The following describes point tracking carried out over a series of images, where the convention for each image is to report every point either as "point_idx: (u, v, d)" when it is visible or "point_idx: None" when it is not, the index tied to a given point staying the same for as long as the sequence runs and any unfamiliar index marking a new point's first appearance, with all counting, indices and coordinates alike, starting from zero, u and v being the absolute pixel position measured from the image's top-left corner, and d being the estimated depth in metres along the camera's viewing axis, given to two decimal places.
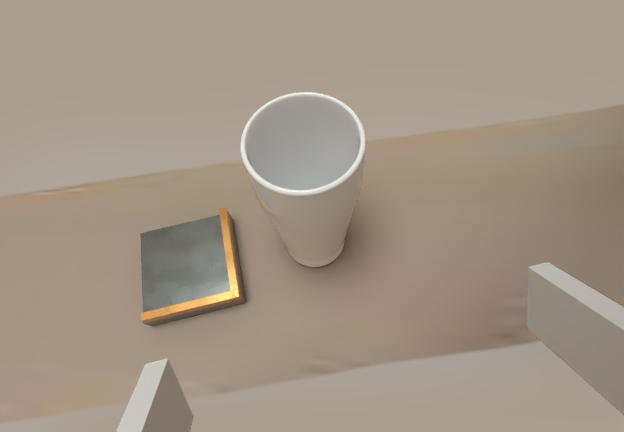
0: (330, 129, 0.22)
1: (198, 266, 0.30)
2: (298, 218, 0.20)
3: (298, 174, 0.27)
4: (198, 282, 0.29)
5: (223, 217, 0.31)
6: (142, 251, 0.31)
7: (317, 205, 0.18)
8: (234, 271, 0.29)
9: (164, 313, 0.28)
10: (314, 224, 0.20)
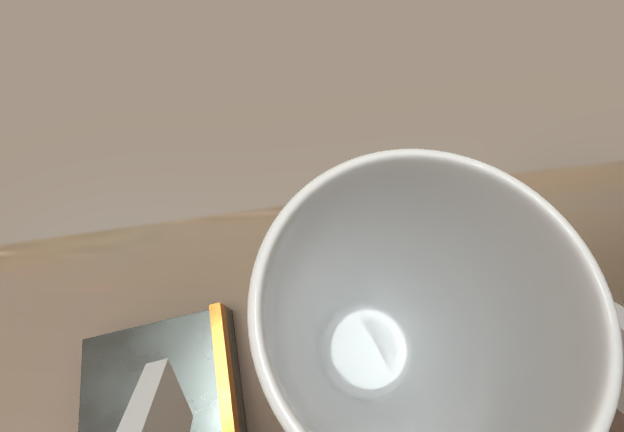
0: (446, 220, 0.10)
1: None
2: None
3: (350, 272, 0.15)
4: None
5: (216, 319, 0.19)
6: (83, 373, 0.19)
7: None
8: (232, 426, 0.17)
9: None
10: None
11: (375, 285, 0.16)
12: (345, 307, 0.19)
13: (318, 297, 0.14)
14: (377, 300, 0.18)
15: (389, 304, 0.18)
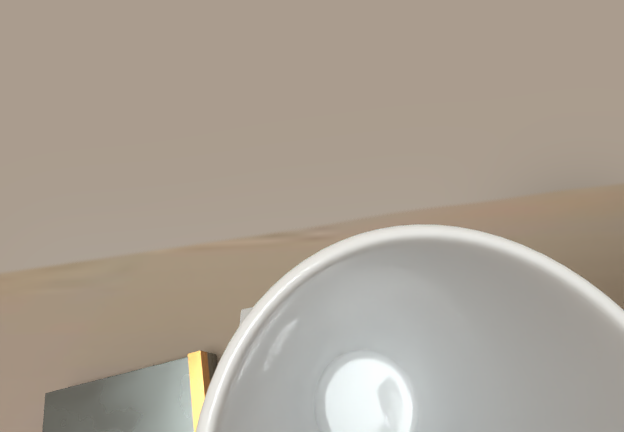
0: (466, 295, 0.08)
1: None
2: None
3: (346, 330, 0.12)
4: None
5: (196, 371, 0.17)
6: None
7: None
8: None
9: None
10: None
11: (376, 337, 0.14)
12: (342, 354, 0.17)
13: (309, 361, 0.12)
14: (378, 348, 0.16)
15: (392, 353, 0.16)
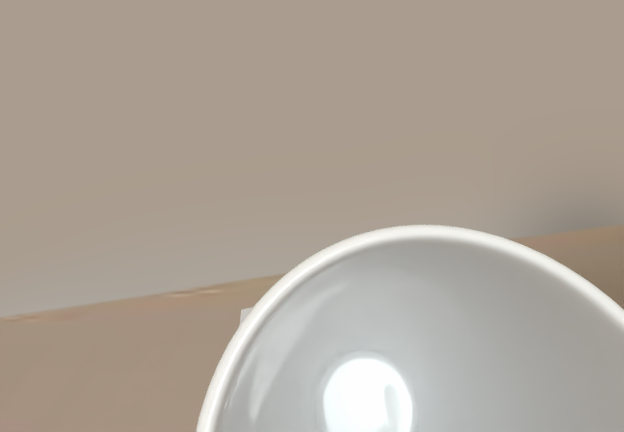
0: (466, 295, 0.08)
1: None
2: None
3: (346, 330, 0.12)
4: None
5: None
6: None
7: None
8: None
9: None
10: None
11: (375, 337, 0.14)
12: (342, 354, 0.17)
13: (309, 361, 0.12)
14: (378, 348, 0.16)
15: (392, 353, 0.16)
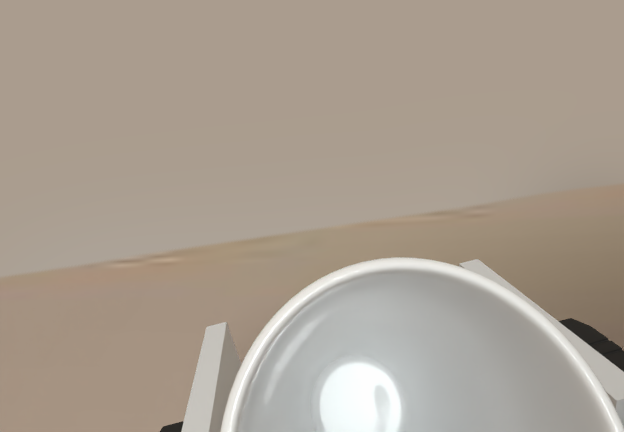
0: (440, 310, 0.09)
1: None
2: None
3: (339, 338, 0.14)
4: None
5: None
6: None
7: None
8: None
9: None
10: None
11: (366, 343, 0.16)
12: (336, 359, 0.18)
13: (306, 367, 0.13)
14: (369, 353, 0.18)
15: (382, 357, 0.17)
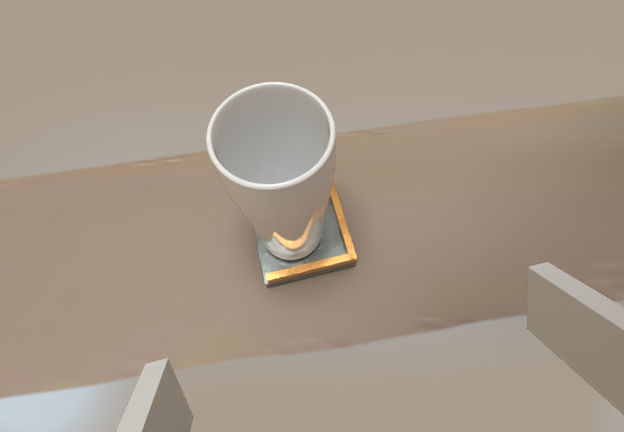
0: (301, 120, 0.21)
1: None
2: (268, 212, 0.19)
3: (272, 166, 0.26)
4: None
5: None
6: None
7: (287, 199, 0.18)
8: (349, 235, 0.31)
9: (288, 273, 0.29)
10: (285, 218, 0.20)
11: (291, 180, 0.28)
12: None
13: (253, 179, 0.26)
14: None
15: None
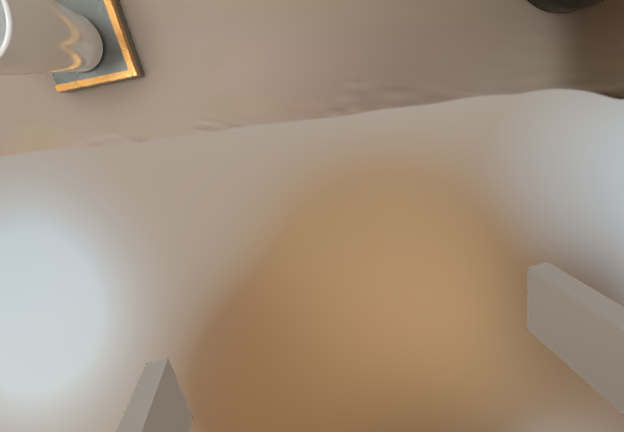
0: None
1: None
2: None
3: None
4: None
5: None
6: None
7: None
8: (128, 52, 0.34)
9: (76, 86, 0.35)
10: (11, 74, 0.25)
11: None
12: None
13: None
14: None
15: None
